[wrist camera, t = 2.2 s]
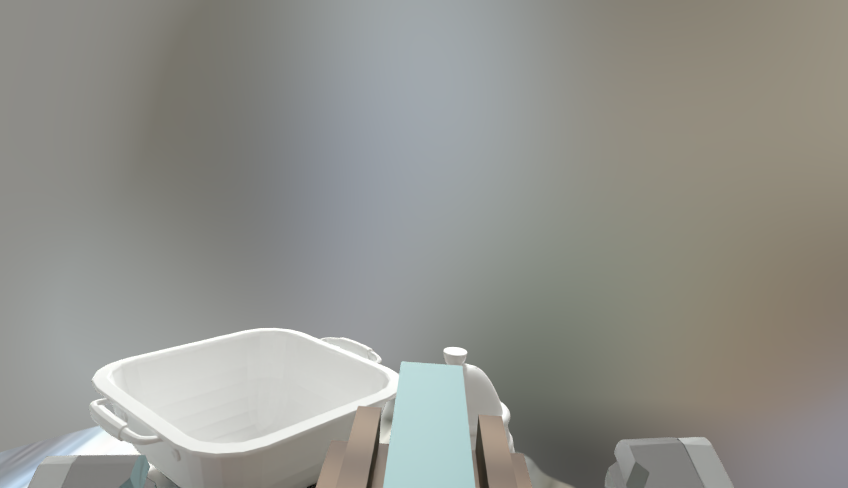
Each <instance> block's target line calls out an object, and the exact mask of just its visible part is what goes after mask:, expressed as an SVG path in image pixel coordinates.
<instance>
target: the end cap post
mask: <svg viewBox="0 0 848 488" xmlns="http://www.w3.org/2000/svg"><path fill="white" fill-rule="evenodd" d="M380 421H381V407H368V406H358V408H357V411H356V415H355V419H354V422H353V426H352V430H351V433H350V437H349V441H339V440H331V442H330V445H329V448H328V451H327V454H326V457H325V460H324V463H323V466H322V469H321V472H320V475H319V479H318V482H317V485H316V488H383V484H384V477H385V470H386V463H387V456H388V449H389V444H381V443H379V438H380ZM471 452H472V461H473V470H474V480H475V488H532V485H531V481H530V477H529V473H528V470H527V466H526V462H525V458H524V454H520V453H510V451H509V446H508V442H507V437H506V433H505V428H504V424H503V419H502V416H493V415H479V414H478V425H477V436H476V448H475V450H471Z"/></svg>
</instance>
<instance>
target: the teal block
mask: <svg viewBox="0 0 848 488" xmlns="http://www.w3.org/2000/svg"><path fill="white" fill-rule="evenodd" d="M383 488H475V480H474V470H473V461H472V452H471V442H470V433H469V424H468V414H467V405H466V396H465V386H464V377H463V368H462V366H458V365H443V364H429V363H415V362H401V366H400V373H399V380H398V387H397V394H396V401H395V408H394V415H393V422H392V429H391V436H390V442H389V449H388V456H387V463H386V470H385V477H384V484H383Z"/></svg>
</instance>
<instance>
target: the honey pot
mask: <svg viewBox="0 0 848 488" xmlns="http://www.w3.org/2000/svg"><path fill="white" fill-rule="evenodd" d="M466 355H467V351H466V350H464V349H462V348H458V347H449V348H445V349H444V358H445V361H446V363H447V365H458V366H462V368H463V377H464V386H465V396H466V405H467V414H468V424H469V433H470V442H471V450H475V448H476V436H477V425H478V414H479V415H493V416H502V419H503V424H504V428H505V433H506V437H507V442H508V446H509V451H510V453H515V451H514V447H513V439H512V436H511V434H510V433H509V430H508V426H507V425H508V423H509V420H510V412H509V410H508V408H507V407H506V406H505V405H504V404H503V403H502V402H500V400H499V398H498V395H497V393H496V391H495V388H494V387H493V385H492V383H491V381H490V380H489V378H488V377H487V376H486V374H485V373H484V372H483V371H482V370H481V369H479V368H478V367H476V366H472V365H468V364H464V361H465V359H466Z"/></svg>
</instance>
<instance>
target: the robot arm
mask: <svg viewBox="0 0 848 488" xmlns="http://www.w3.org/2000/svg"><path fill="white" fill-rule="evenodd" d="M614 453H615V456H616V458H617V462H616V463H614V464H613V465H612V466H610V467H609V468H608V472H607V475H606V478H605V488H734V486H733V484H732V482H731V480H730V479H729V477H728V475H727V473H726V471H725V469H724V467H723V465H722V463H721V461H720V460H719V458H718V456H717V454H716V452H715V450H714V448H713V446H712V444H711V443H710V442H709V441H708V440H707V439H706V438H704V437H692V438H674V437H672V438H671V437H670V438H649V439H628V440H627V439H626V440H621V441H620V442H619V443H618V444H617V446H616V449H615V452H614ZM149 468H150V466H149V463H148V461H147V458H146V456H145V455H87V456H81V455H73V456H47V457H46V458H45V459H44V460H43V461H42V462H41V463H40V465H39V466H38V467H37V469H36V471H35V473H34V475H33V478H32V480H31V482H30V484H29V486H28V488H156V485H155V483H154V482H153V481H151V480H150V479H148V478H147V474H148V471H149Z"/></svg>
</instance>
